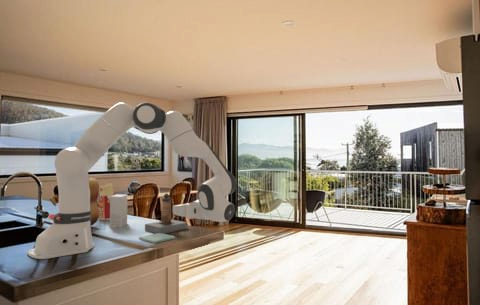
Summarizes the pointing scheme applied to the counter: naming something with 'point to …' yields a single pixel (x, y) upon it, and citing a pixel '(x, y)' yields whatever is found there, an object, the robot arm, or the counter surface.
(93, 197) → the butternut squash
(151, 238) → the plate
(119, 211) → the skincare box
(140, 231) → the counter surface
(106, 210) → the milk carton
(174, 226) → the holder
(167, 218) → the pepper mill
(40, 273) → the counter surface
